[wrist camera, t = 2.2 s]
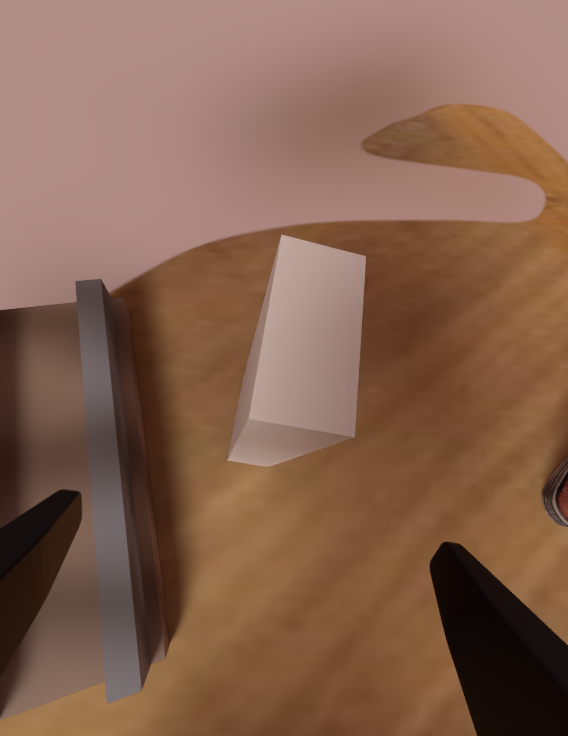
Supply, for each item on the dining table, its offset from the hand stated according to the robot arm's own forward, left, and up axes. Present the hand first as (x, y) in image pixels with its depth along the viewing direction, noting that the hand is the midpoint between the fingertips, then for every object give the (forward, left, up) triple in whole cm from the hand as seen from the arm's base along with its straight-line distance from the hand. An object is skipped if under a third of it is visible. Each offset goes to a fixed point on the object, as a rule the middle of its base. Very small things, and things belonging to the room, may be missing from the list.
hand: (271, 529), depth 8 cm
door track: (-2, +9, -11) cm, 14 cm away
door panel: (+5, +1, -11) cm, 12 cm away
